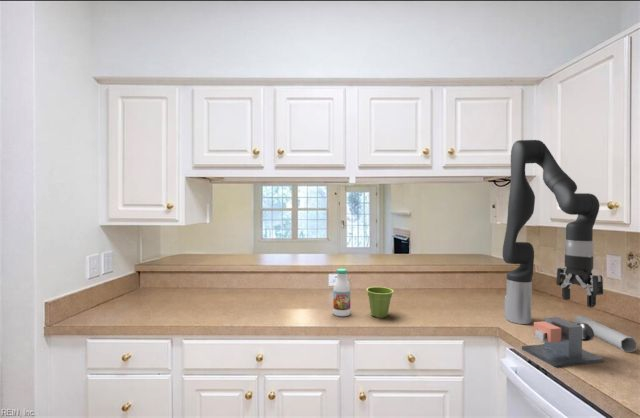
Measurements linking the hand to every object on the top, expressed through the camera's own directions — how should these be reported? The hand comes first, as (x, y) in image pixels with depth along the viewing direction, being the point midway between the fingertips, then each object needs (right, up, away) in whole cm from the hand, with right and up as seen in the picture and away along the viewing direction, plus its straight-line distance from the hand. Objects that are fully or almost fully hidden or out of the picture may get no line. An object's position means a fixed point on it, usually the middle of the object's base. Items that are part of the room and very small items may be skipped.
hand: (578, 303), depth 112 cm
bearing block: (-6, -17, -1) cm, 18 cm away
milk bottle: (-75, -16, +40) cm, 87 cm away
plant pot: (-59, -16, +38) cm, 72 cm away
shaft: (-6, -13, -1) cm, 14 cm away
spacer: (-12, -9, -2) cm, 15 cm away
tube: (+19, -17, +14) cm, 29 cm away
